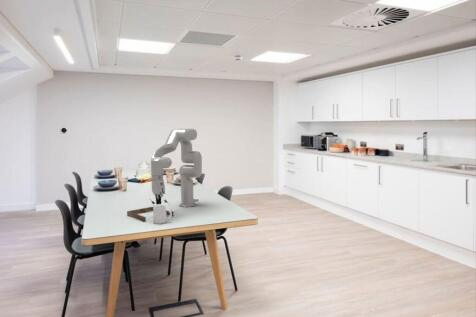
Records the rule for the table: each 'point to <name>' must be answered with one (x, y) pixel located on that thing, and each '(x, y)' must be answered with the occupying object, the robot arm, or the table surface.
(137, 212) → the open wooden rail frame
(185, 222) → the table surface
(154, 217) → the mug
